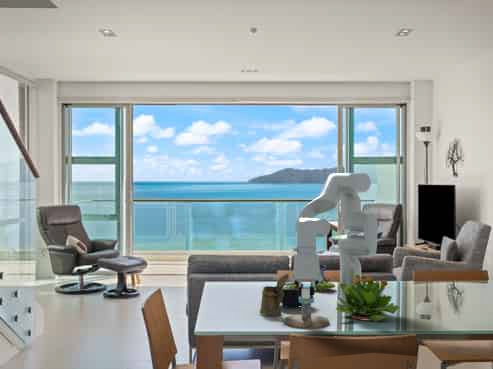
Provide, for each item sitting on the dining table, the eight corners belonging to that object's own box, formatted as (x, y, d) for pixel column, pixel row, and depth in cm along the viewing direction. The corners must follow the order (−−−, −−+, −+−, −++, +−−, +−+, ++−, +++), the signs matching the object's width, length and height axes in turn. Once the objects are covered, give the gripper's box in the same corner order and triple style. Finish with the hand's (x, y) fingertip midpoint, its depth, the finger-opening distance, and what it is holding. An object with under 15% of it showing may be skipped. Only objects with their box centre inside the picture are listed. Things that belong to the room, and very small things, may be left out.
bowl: (314, 303, 276) (314, 281, 276) (307, 311, 260) (307, 288, 260) (278, 301, 281) (278, 279, 281) (269, 308, 264) (269, 286, 264)
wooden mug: (280, 319, 246) (280, 275, 246) (255, 314, 255) (255, 271, 254) (293, 315, 253) (293, 272, 252) (268, 310, 261) (268, 269, 261)
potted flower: (346, 326, 233) (346, 281, 233) (321, 313, 256) (321, 272, 256) (403, 322, 240) (403, 278, 240) (374, 309, 263) (374, 269, 263)
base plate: (324, 317, 249) (324, 297, 249) (333, 328, 231) (333, 307, 231) (280, 317, 248) (280, 298, 248) (287, 328, 230) (287, 308, 230)
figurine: (336, 293, 301) (336, 263, 300) (311, 292, 301) (311, 262, 301) (333, 287, 314) (333, 259, 314) (309, 287, 315) (309, 259, 315)
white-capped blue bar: (299, 298, 246) (299, 283, 246) (314, 298, 245) (314, 283, 245) (297, 305, 232) (297, 289, 232) (313, 306, 231) (313, 289, 231)
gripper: (286, 252, 235) (286, 299, 235) (328, 251, 236) (328, 298, 236) (284, 249, 242) (284, 295, 242) (325, 249, 243) (325, 294, 243)
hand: (306, 296), depth 239 cm, fingers closed on white-capped blue bar, 3 cm apart
